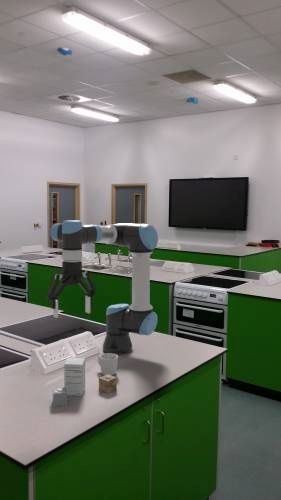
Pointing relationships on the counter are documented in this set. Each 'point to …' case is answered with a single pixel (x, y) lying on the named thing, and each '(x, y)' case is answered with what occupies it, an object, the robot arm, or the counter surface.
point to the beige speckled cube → (107, 383)
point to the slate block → (59, 396)
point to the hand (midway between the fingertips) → (72, 314)
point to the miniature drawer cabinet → (74, 376)
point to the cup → (108, 363)
